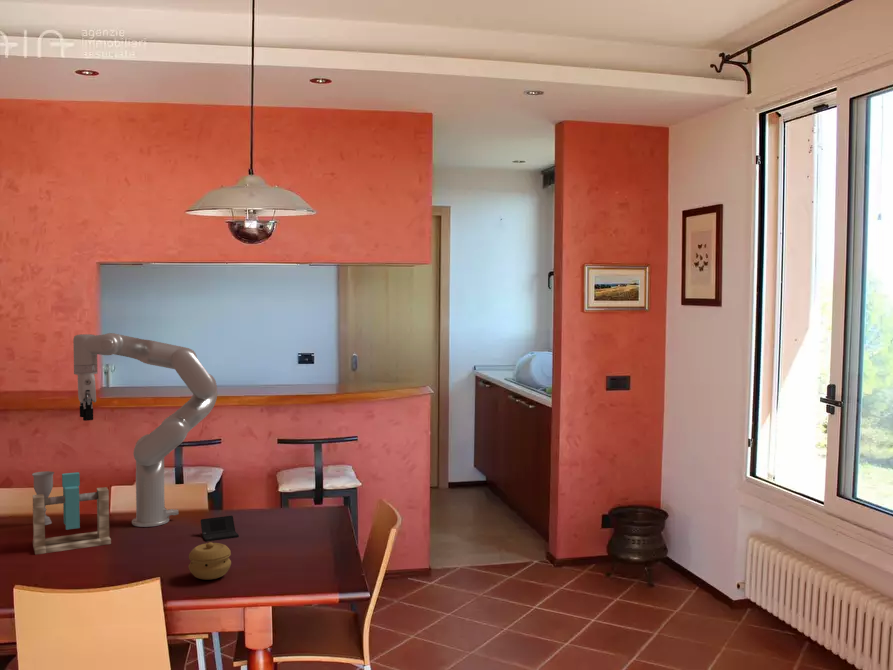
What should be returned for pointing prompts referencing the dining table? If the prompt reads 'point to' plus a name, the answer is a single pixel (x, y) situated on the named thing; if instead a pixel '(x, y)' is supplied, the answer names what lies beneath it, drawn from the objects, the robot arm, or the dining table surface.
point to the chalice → (43, 487)
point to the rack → (101, 534)
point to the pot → (209, 560)
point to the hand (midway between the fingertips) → (86, 418)
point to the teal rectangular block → (71, 500)
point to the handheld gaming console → (218, 528)
